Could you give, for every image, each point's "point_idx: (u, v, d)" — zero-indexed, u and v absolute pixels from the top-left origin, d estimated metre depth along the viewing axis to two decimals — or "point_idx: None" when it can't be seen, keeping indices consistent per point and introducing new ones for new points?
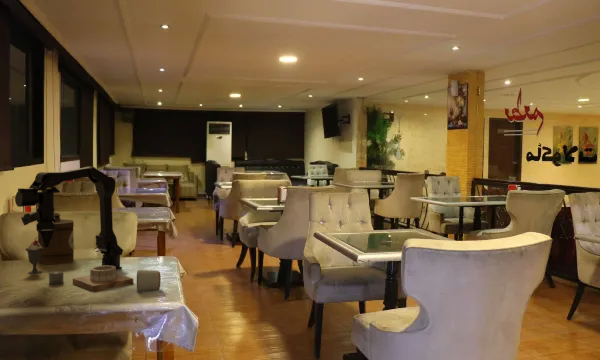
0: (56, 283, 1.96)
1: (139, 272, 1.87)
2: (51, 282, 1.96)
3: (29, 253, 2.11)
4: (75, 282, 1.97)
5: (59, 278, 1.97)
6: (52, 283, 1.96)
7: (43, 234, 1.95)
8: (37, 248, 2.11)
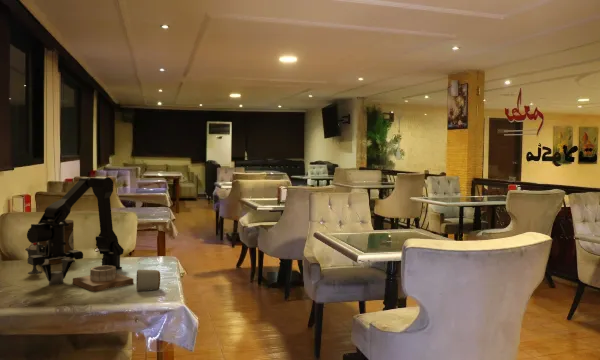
0: (56, 283, 1.96)
1: (139, 272, 1.88)
2: (51, 282, 1.96)
3: (29, 253, 2.11)
4: (75, 282, 1.97)
5: (59, 278, 1.97)
6: (52, 283, 1.96)
7: (43, 267, 1.95)
8: None
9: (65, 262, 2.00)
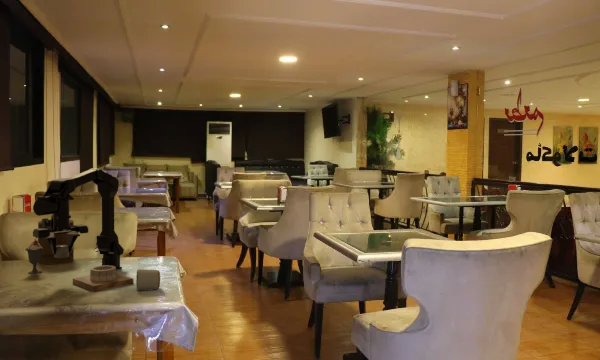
0: (61, 256, 1.96)
1: (139, 271, 1.89)
2: (56, 255, 1.96)
3: (29, 253, 2.11)
4: (75, 282, 1.97)
5: (65, 251, 1.96)
6: (57, 256, 1.95)
7: (49, 241, 1.95)
8: (37, 248, 2.11)
9: (70, 236, 1.99)
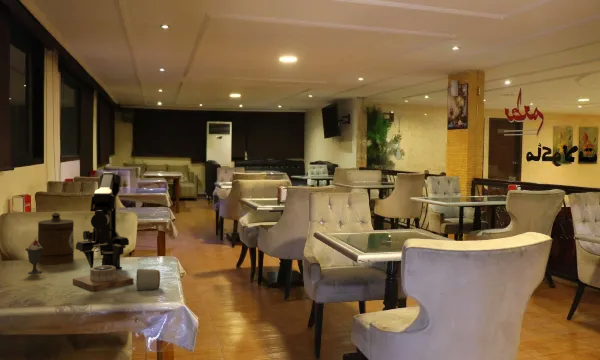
0: None
1: (139, 271, 1.89)
2: None
3: (29, 253, 2.11)
4: (75, 282, 1.97)
5: None
6: None
7: (86, 254, 1.94)
8: (37, 248, 2.11)
9: (116, 248, 2.01)
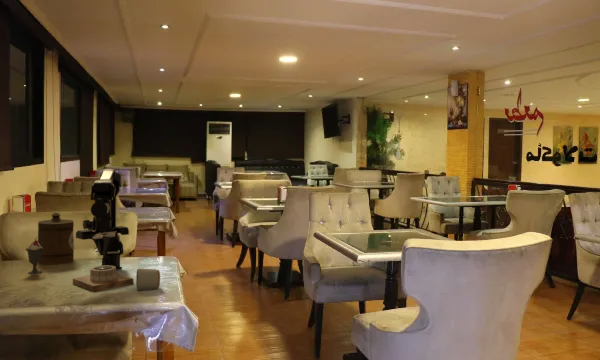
0: None
1: (139, 271, 1.89)
2: None
3: (29, 253, 2.11)
4: (75, 282, 1.97)
5: None
6: None
7: (96, 242, 1.97)
8: (37, 248, 2.11)
9: (107, 238, 1.98)
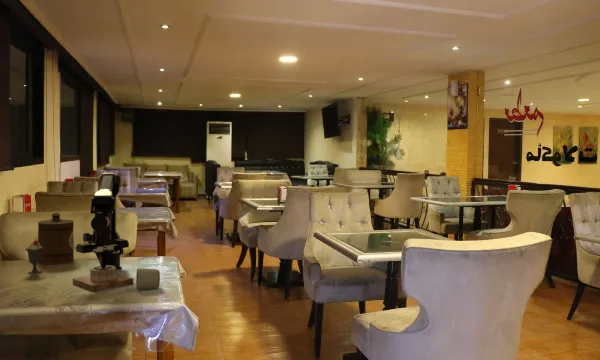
0: None
1: (139, 270, 1.90)
2: None
3: (29, 253, 2.11)
4: (75, 282, 1.97)
5: None
6: None
7: (97, 255, 1.97)
8: (37, 248, 2.11)
9: (105, 251, 1.98)
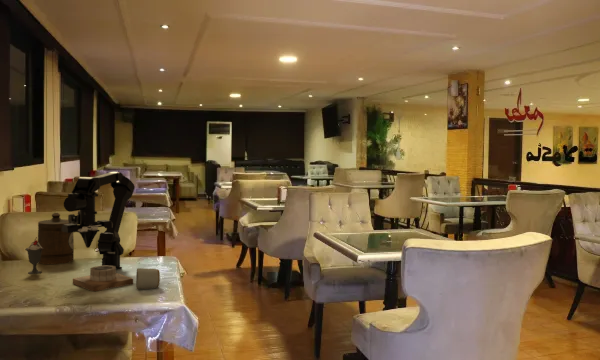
0: None
1: (138, 270, 1.90)
2: None
3: (29, 253, 2.11)
4: (75, 282, 1.97)
5: None
6: None
7: (82, 235, 2.07)
8: (37, 248, 2.11)
9: (90, 231, 2.08)
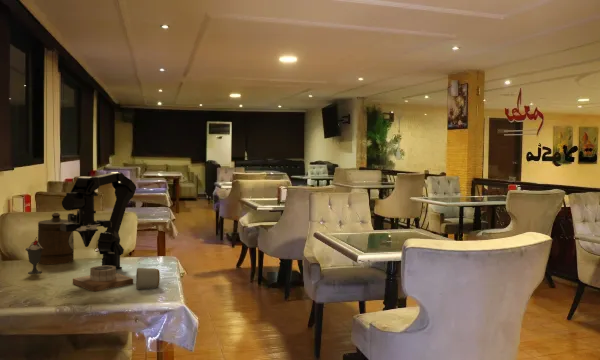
0: None
1: (138, 270, 1.91)
2: None
3: (29, 253, 2.11)
4: (75, 282, 1.97)
5: None
6: None
7: (81, 234, 2.08)
8: (37, 248, 2.11)
9: (89, 231, 2.08)
